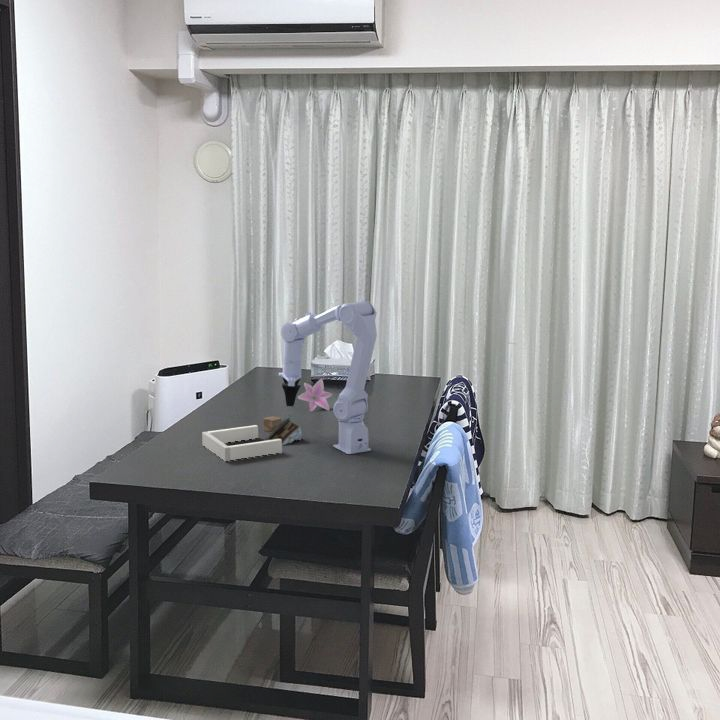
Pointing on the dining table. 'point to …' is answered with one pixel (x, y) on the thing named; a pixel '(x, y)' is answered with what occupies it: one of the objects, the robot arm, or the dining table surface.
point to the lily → (316, 395)
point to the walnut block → (271, 423)
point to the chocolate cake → (285, 432)
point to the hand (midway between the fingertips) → (290, 402)
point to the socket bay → (227, 453)
